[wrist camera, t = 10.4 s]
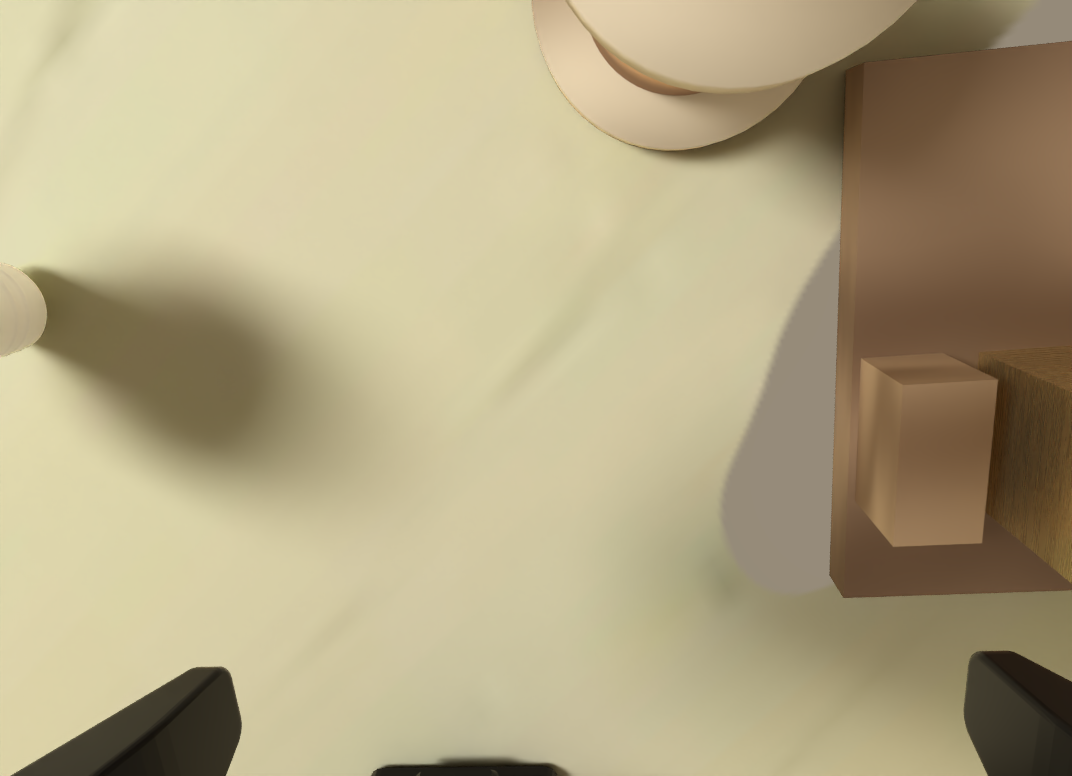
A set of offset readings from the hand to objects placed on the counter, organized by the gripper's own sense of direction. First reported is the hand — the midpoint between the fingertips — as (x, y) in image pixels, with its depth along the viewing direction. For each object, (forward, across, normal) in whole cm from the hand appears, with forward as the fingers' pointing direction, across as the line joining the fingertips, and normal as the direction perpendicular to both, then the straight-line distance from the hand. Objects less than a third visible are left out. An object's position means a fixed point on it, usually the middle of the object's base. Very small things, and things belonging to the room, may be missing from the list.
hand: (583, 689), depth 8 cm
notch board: (+12, -12, -1) cm, 17 cm away
